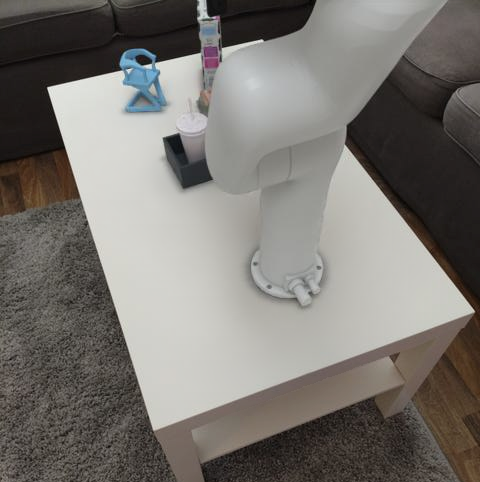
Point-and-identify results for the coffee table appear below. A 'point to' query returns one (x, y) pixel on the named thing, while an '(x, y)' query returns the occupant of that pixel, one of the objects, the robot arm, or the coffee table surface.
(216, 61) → the candy bar box
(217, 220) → the coffee table surface
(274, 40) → the robot arm
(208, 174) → the box
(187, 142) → the smoothie
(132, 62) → the chair
